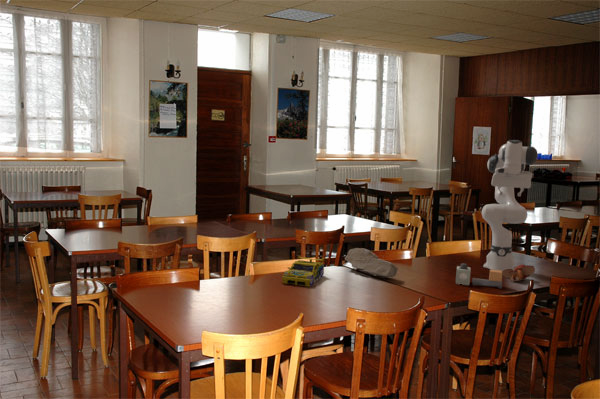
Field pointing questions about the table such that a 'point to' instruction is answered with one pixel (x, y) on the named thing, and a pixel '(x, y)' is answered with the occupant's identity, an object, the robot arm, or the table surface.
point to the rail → (483, 282)
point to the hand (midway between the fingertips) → (510, 195)
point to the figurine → (519, 272)
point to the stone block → (370, 263)
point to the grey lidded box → (463, 276)
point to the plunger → (463, 266)
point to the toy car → (304, 272)
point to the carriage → (495, 277)
